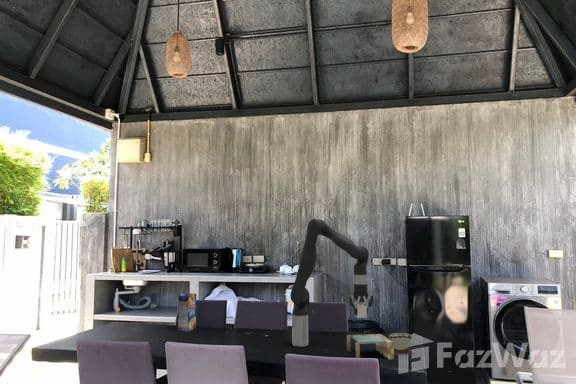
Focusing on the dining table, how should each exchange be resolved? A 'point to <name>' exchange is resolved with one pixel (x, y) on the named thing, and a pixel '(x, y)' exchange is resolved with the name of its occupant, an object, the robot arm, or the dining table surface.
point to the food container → (401, 342)
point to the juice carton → (187, 312)
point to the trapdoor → (368, 339)
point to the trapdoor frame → (383, 348)
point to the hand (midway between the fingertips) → (361, 314)
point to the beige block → (361, 311)
